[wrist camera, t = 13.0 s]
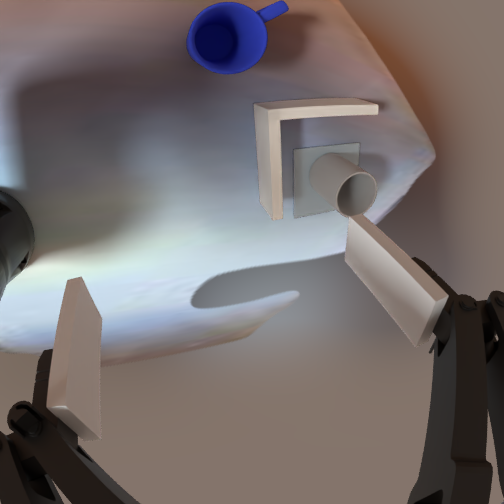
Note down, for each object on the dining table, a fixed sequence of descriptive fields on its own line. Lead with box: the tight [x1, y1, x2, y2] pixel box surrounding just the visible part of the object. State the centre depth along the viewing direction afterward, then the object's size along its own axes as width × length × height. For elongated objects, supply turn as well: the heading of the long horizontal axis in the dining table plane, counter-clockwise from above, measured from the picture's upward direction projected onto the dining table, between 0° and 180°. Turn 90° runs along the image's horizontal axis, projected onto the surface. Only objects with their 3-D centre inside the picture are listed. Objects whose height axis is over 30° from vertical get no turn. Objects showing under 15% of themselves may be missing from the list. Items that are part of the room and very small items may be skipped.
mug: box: [186, 1, 289, 74], centre depth 30 cm, size 8×12×10 cm
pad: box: [293, 143, 360, 219], centre depth 51 cm, size 12×12×1 cm
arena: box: [253, 98, 378, 220], centre depth 45 cm, size 17×16×6 cm
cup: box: [309, 153, 377, 218], centre depth 48 cm, size 7×10×9 cm
